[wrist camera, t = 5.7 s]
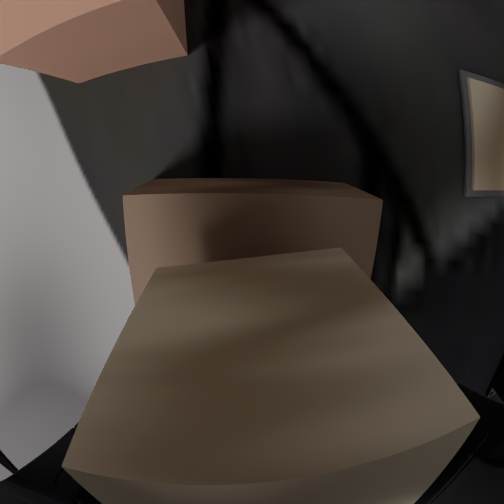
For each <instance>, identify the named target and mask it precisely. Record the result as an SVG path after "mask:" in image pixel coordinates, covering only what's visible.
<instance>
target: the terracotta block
mask: <svg viewBox="0 0 504 504" xmlns="http://www.w3.org/2000/svg"><path fill="white" fill-rule="evenodd" d="M182 56H188V53H187V39H186V25H185V9H184V0H0V63H1V64H6V65H10V66H15V67H19V68H24V69H28V70H32V71H36V72H40V73H44V74H48V75H51V76H55V77H59V78H62V79H66V80H69V81H73V82H76V83H81V82H84V81H87V80H90V79H93V78H96V77H99V76H103V75H106V74H109V73H113V72H116V71H120V70H123V69H127V68H131V67H135V66H139V65H143V64H147V63H152V62H156V61H161V60H166V59H171V58H176V57H182Z"/></svg>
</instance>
